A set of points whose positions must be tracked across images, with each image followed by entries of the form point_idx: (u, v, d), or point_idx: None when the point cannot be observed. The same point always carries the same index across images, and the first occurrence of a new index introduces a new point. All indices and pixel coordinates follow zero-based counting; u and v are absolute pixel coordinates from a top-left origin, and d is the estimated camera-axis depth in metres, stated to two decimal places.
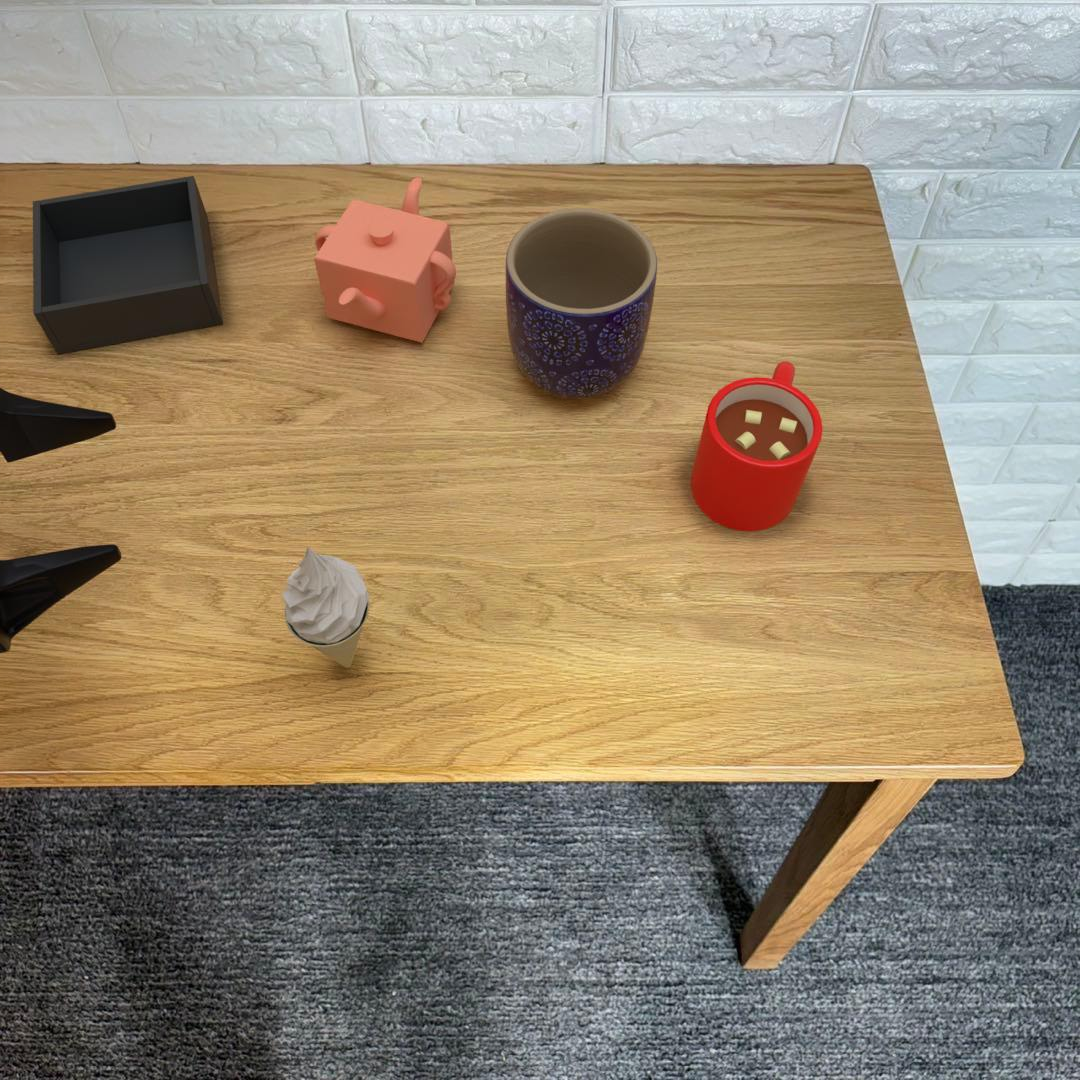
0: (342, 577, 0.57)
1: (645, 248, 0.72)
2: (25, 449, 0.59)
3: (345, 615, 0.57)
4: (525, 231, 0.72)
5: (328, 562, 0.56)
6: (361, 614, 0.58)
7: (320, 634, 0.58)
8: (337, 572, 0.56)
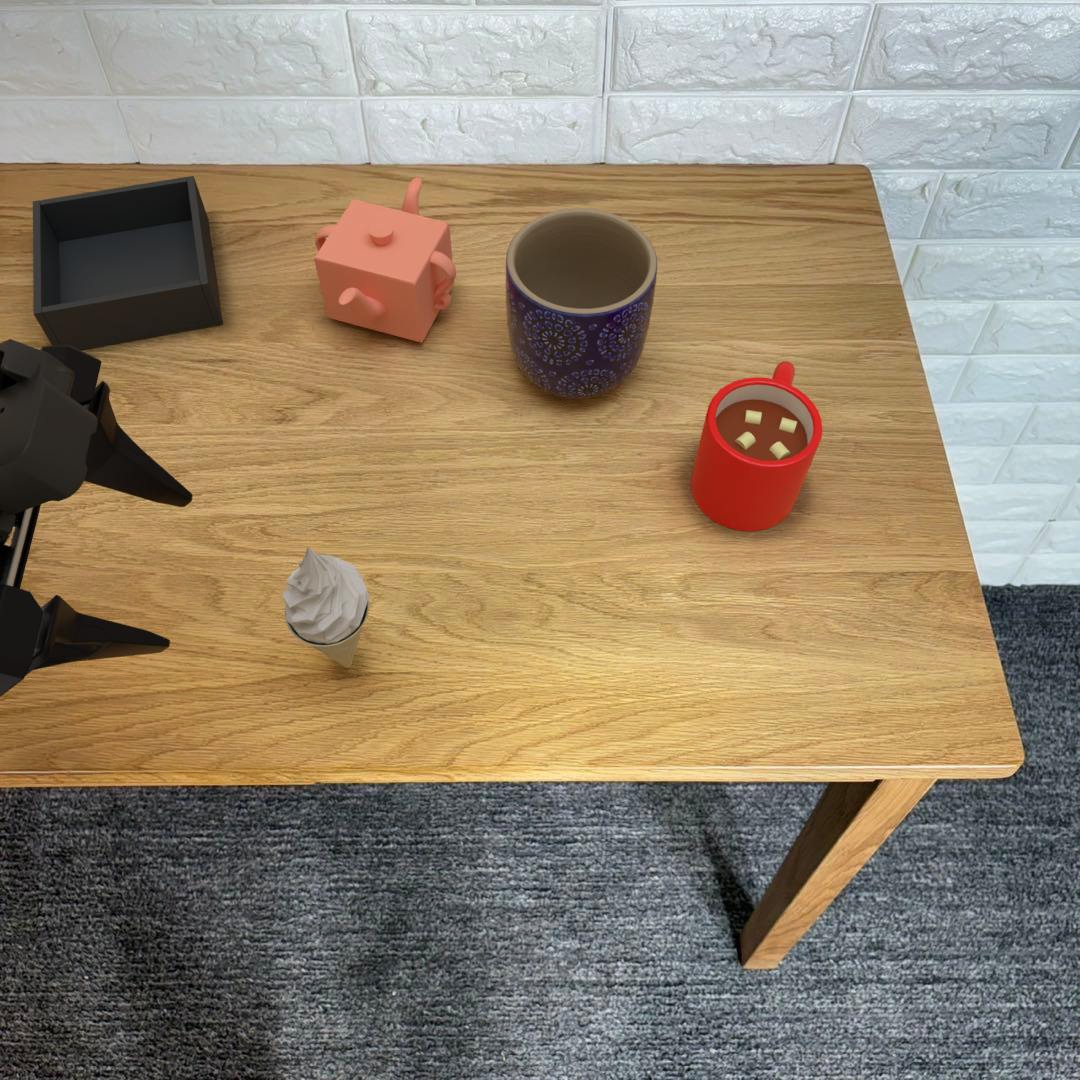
0: (342, 577, 0.57)
1: (645, 248, 0.72)
2: None
3: (345, 615, 0.57)
4: (525, 231, 0.72)
5: (328, 562, 0.56)
6: (361, 614, 0.58)
7: (320, 634, 0.58)
8: (338, 572, 0.56)
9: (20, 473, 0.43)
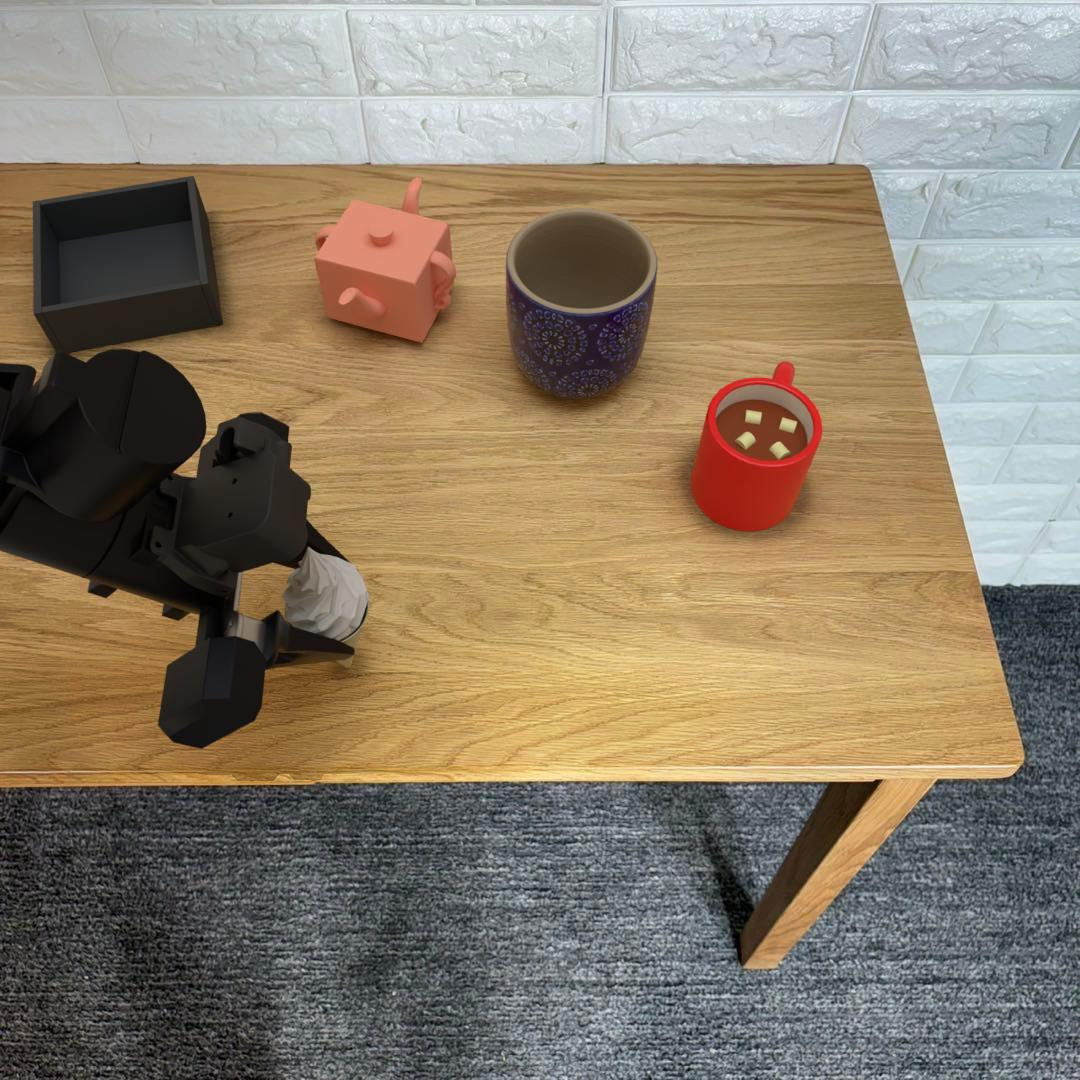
0: (342, 577, 0.57)
1: (645, 248, 0.72)
2: None
3: (345, 615, 0.57)
4: (525, 231, 0.72)
5: (328, 562, 0.56)
6: (361, 614, 0.58)
7: (320, 634, 0.58)
8: (338, 572, 0.56)
9: (258, 539, 0.48)
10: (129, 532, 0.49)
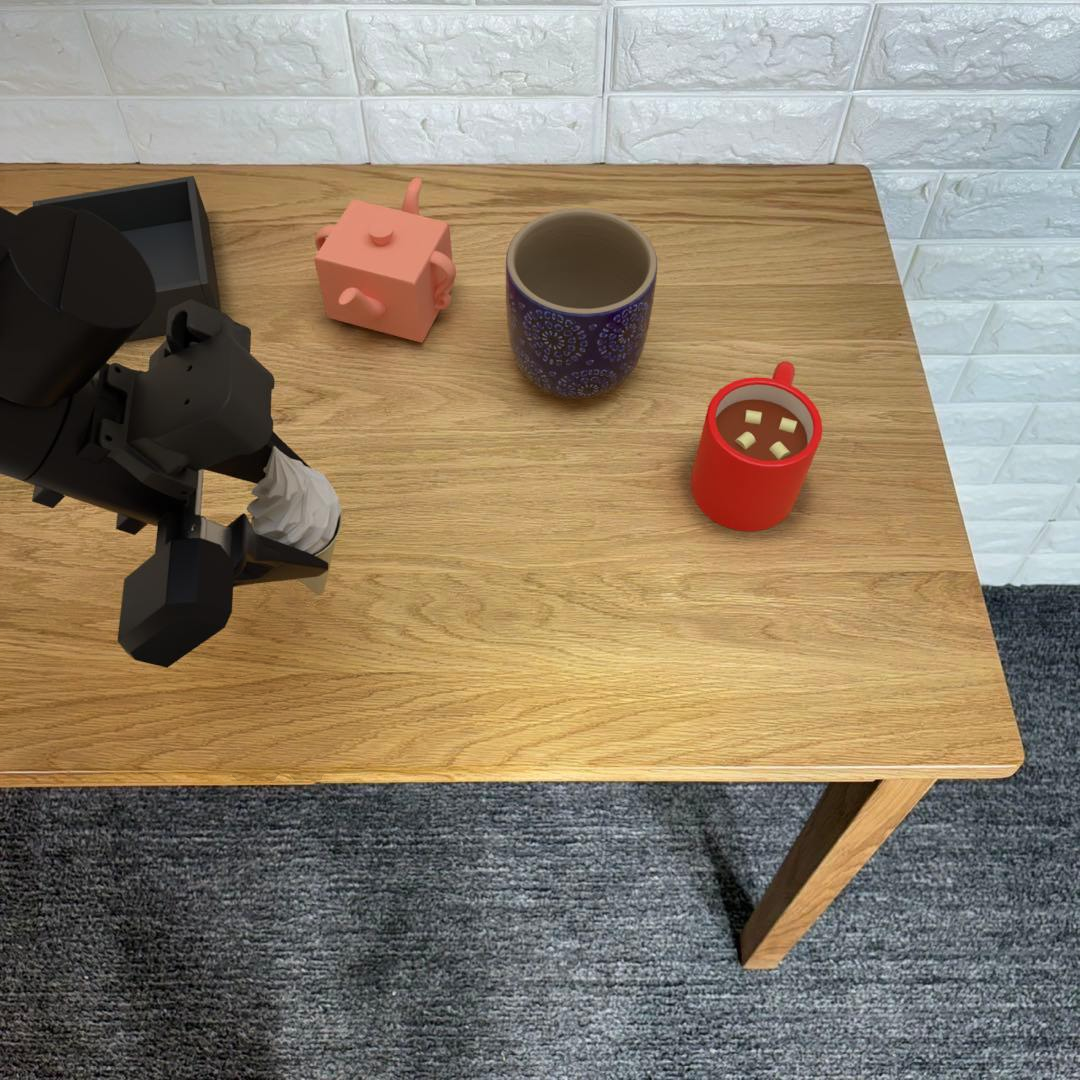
0: (312, 483, 0.53)
1: (645, 248, 0.72)
2: (221, 466, 0.55)
3: (317, 525, 0.53)
4: (525, 231, 0.72)
5: (296, 465, 0.51)
6: (334, 525, 0.54)
7: None
8: (307, 477, 0.52)
9: (219, 426, 0.44)
10: (75, 425, 0.44)
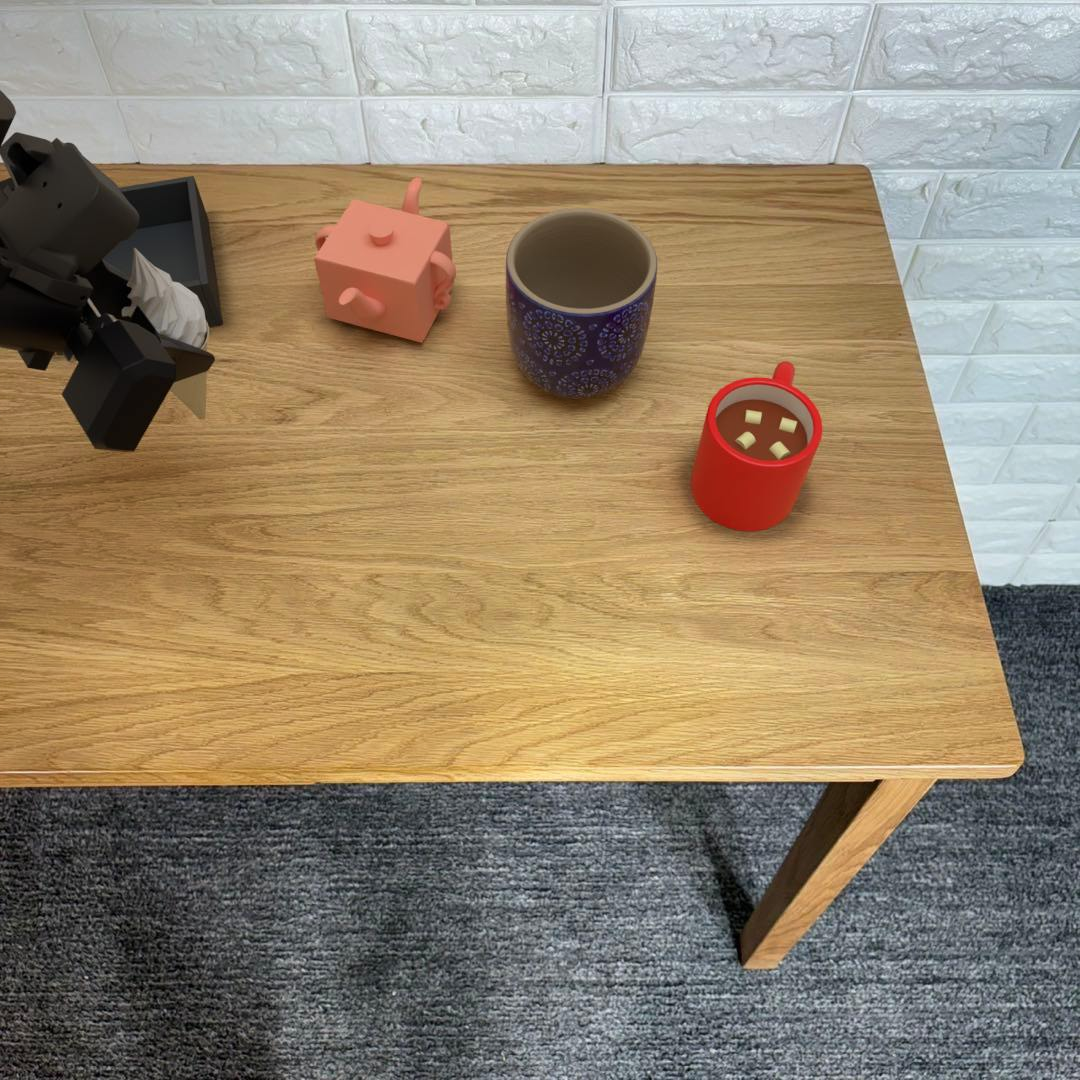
0: (172, 284, 0.60)
1: (645, 248, 0.72)
2: None
3: (192, 318, 0.61)
4: (525, 231, 0.72)
5: (155, 267, 0.59)
6: (203, 318, 0.62)
7: None
8: (167, 276, 0.59)
9: (99, 211, 0.51)
10: None
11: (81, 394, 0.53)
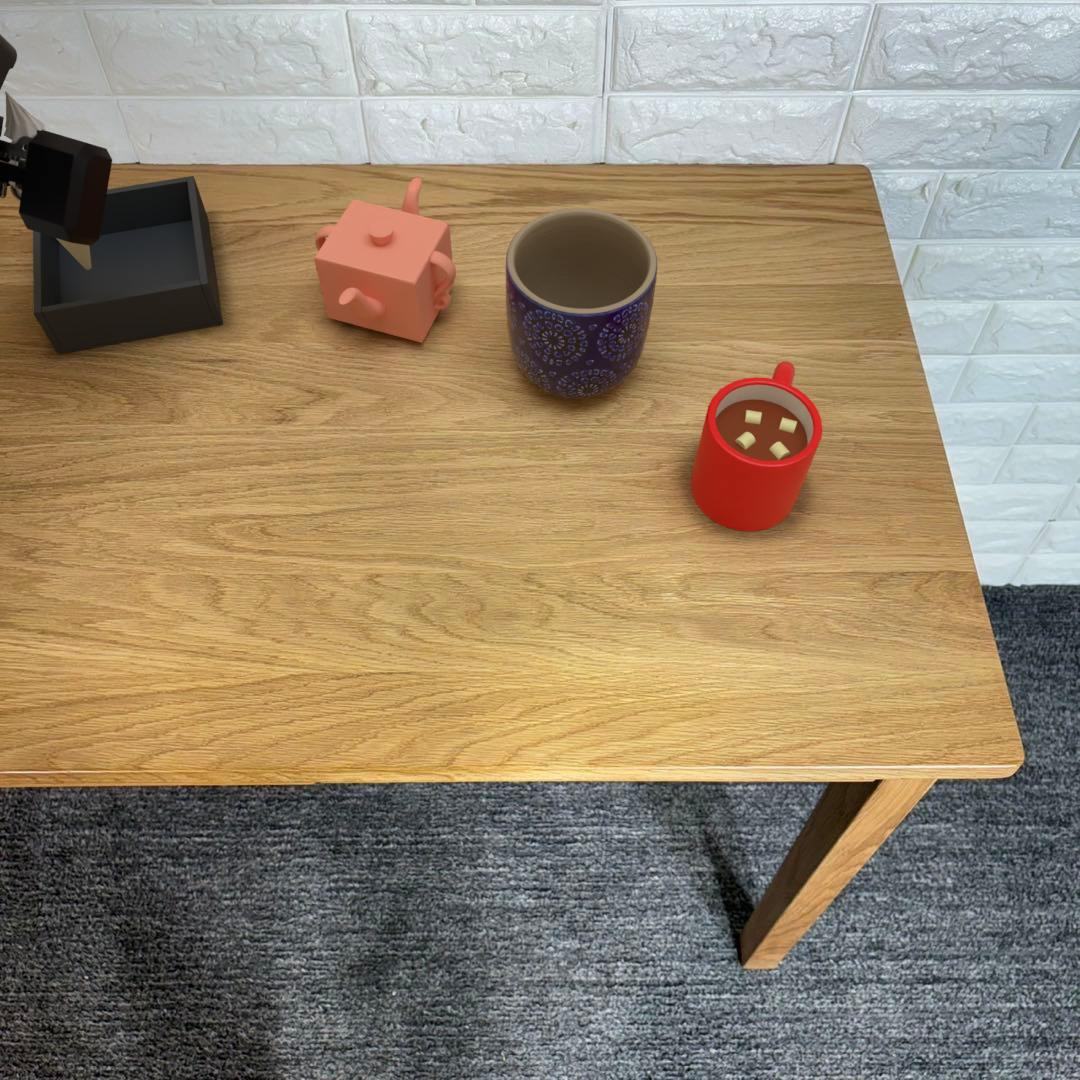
0: None
1: (645, 248, 0.72)
2: None
3: None
4: (525, 231, 0.72)
5: None
6: None
7: None
8: None
9: None
10: None
11: (40, 199, 0.62)
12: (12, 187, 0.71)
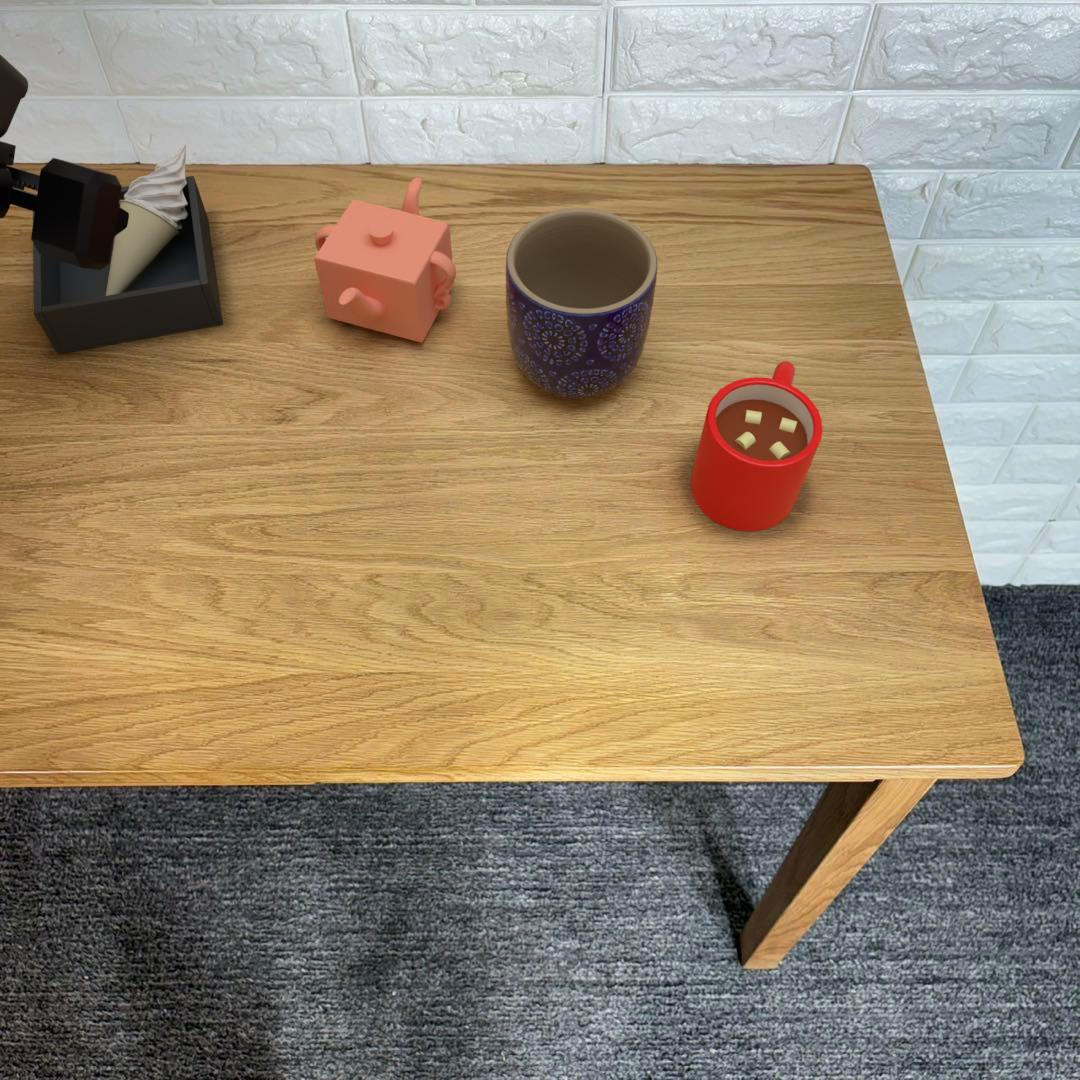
0: None
1: (645, 248, 0.72)
2: None
3: (183, 210, 0.84)
4: (525, 231, 0.72)
5: None
6: (180, 223, 0.84)
7: (169, 215, 0.82)
8: None
9: (2, 71, 0.62)
10: None
11: (52, 226, 0.64)
12: (120, 204, 0.82)
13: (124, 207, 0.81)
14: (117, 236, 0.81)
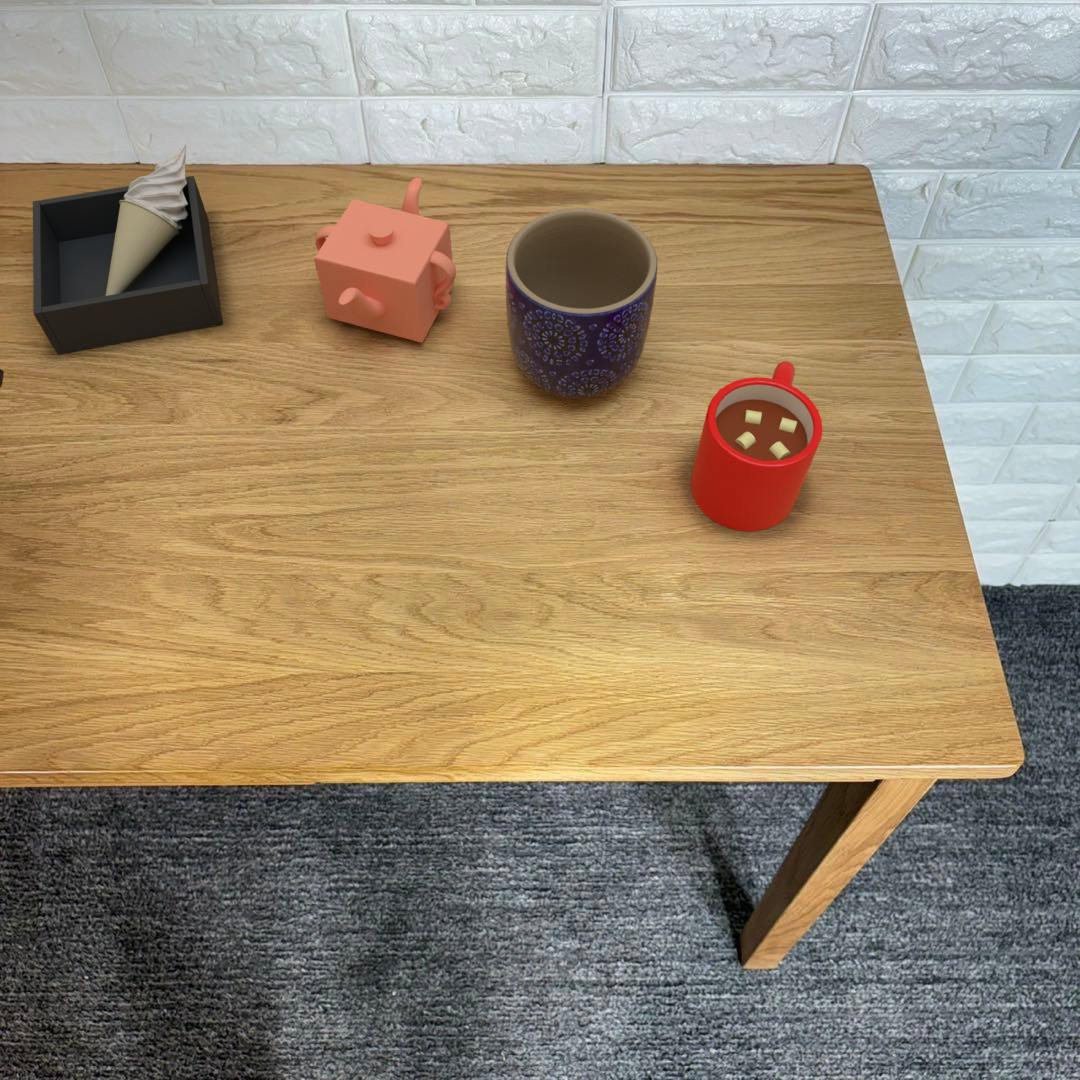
0: None
1: (645, 248, 0.72)
2: None
3: (183, 210, 0.84)
4: (525, 231, 0.72)
5: None
6: (180, 223, 0.84)
7: (169, 215, 0.82)
8: None
9: None
10: None
11: None
12: (120, 204, 0.82)
13: (124, 207, 0.81)
14: (117, 236, 0.81)
